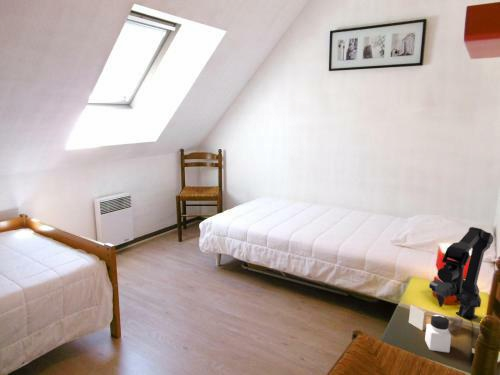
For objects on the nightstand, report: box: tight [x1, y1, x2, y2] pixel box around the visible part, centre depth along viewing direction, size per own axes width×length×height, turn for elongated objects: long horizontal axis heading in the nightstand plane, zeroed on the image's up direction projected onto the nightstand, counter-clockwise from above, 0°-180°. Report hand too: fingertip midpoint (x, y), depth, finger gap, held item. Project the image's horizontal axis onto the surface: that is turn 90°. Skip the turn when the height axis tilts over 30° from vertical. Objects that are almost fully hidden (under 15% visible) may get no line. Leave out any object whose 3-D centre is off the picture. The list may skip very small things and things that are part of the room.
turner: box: [447, 316, 464, 333], centre depth 154 cm, size 16×5×4 cm, turn 114°
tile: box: [408, 304, 428, 331], centre depth 156 cm, size 2×7×8 cm, turn 24°
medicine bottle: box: [424, 314, 453, 353], centre depth 141 cm, size 7×7×12 cm
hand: (450, 311), depth 153 cm, fingers open, 9 cm apart
